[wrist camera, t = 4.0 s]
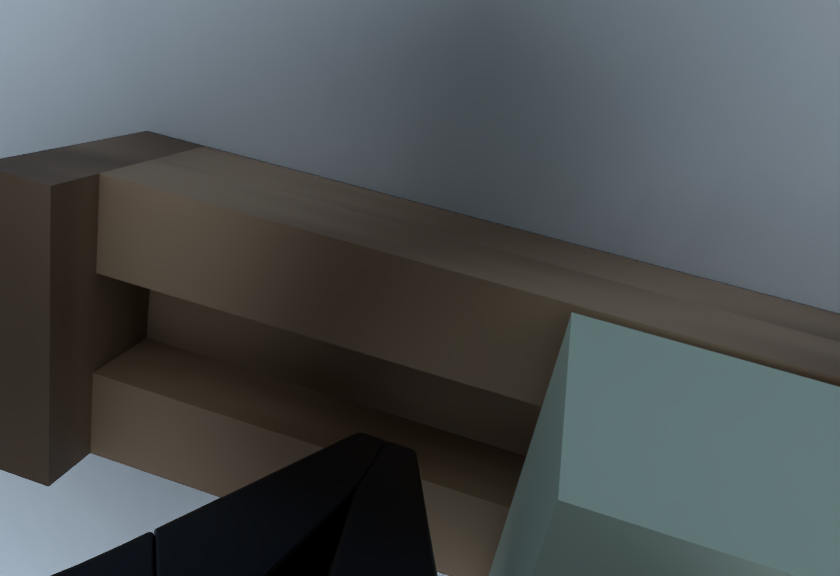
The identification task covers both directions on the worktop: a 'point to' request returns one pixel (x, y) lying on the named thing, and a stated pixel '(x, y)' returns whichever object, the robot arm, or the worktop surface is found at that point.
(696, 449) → the block
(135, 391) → the rail
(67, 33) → the worktop surface
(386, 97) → the worktop surface
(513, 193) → the worktop surface
